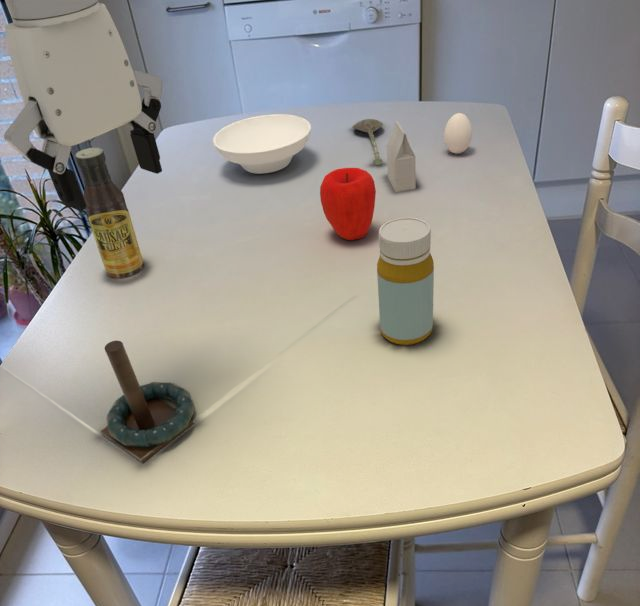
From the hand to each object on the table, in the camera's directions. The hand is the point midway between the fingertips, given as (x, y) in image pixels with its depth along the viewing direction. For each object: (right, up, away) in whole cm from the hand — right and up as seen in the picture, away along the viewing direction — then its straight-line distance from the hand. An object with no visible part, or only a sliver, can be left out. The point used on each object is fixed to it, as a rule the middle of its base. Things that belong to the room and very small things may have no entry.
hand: (115, 188), depth 68 cm
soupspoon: (+32, +33, +67) cm, 81 cm away
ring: (+1, -23, +11) cm, 26 cm away
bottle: (+33, -12, +20) cm, 41 cm away
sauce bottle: (-10, 0, +40) cm, 41 cm away
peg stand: (+1, -25, +11) cm, 28 cm away
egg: (+48, +29, +59) cm, 82 cm away
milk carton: (+37, +20, +52) cm, 67 cm away
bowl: (+11, +28, +64) cm, 71 cm away
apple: (+27, +7, +40) cm, 49 cm away
